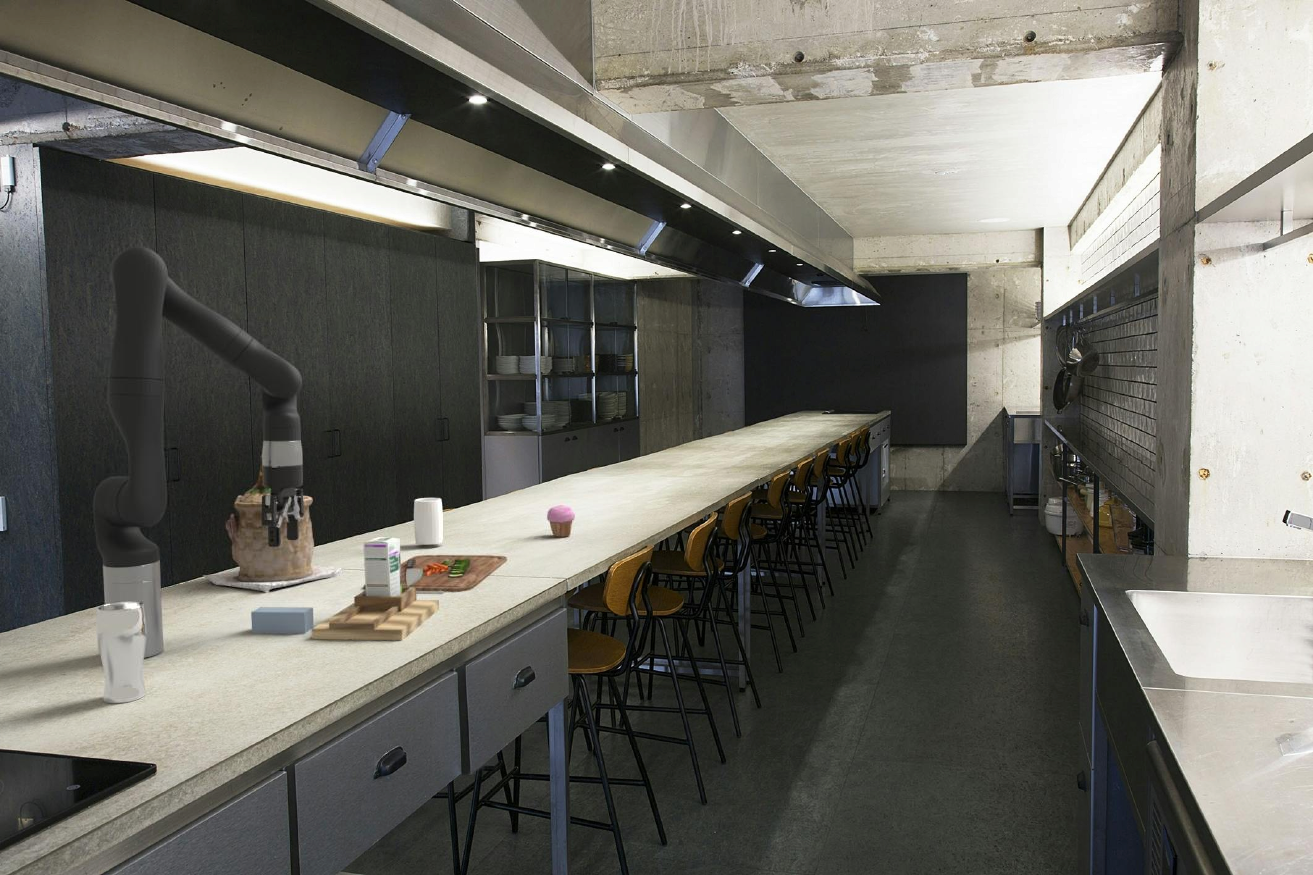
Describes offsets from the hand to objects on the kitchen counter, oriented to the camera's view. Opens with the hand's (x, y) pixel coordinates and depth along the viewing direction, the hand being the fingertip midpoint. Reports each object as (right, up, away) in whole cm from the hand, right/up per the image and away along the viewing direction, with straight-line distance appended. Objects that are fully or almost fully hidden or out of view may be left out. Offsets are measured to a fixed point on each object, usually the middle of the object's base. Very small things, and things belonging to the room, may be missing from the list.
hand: (283, 543), depth 191 cm
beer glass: (-11, -21, -38) cm, 45 cm away
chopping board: (+19, -15, +55) cm, 60 cm away
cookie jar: (-22, -15, +50) cm, 57 cm away
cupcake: (+45, -10, +109) cm, 118 cm away
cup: (+7, -12, +94) cm, 95 cm away
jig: (+18, -17, +6) cm, 25 cm away
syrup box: (+17, -15, +13) cm, 26 cm away
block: (-1, -18, +1) cm, 18 cm away
